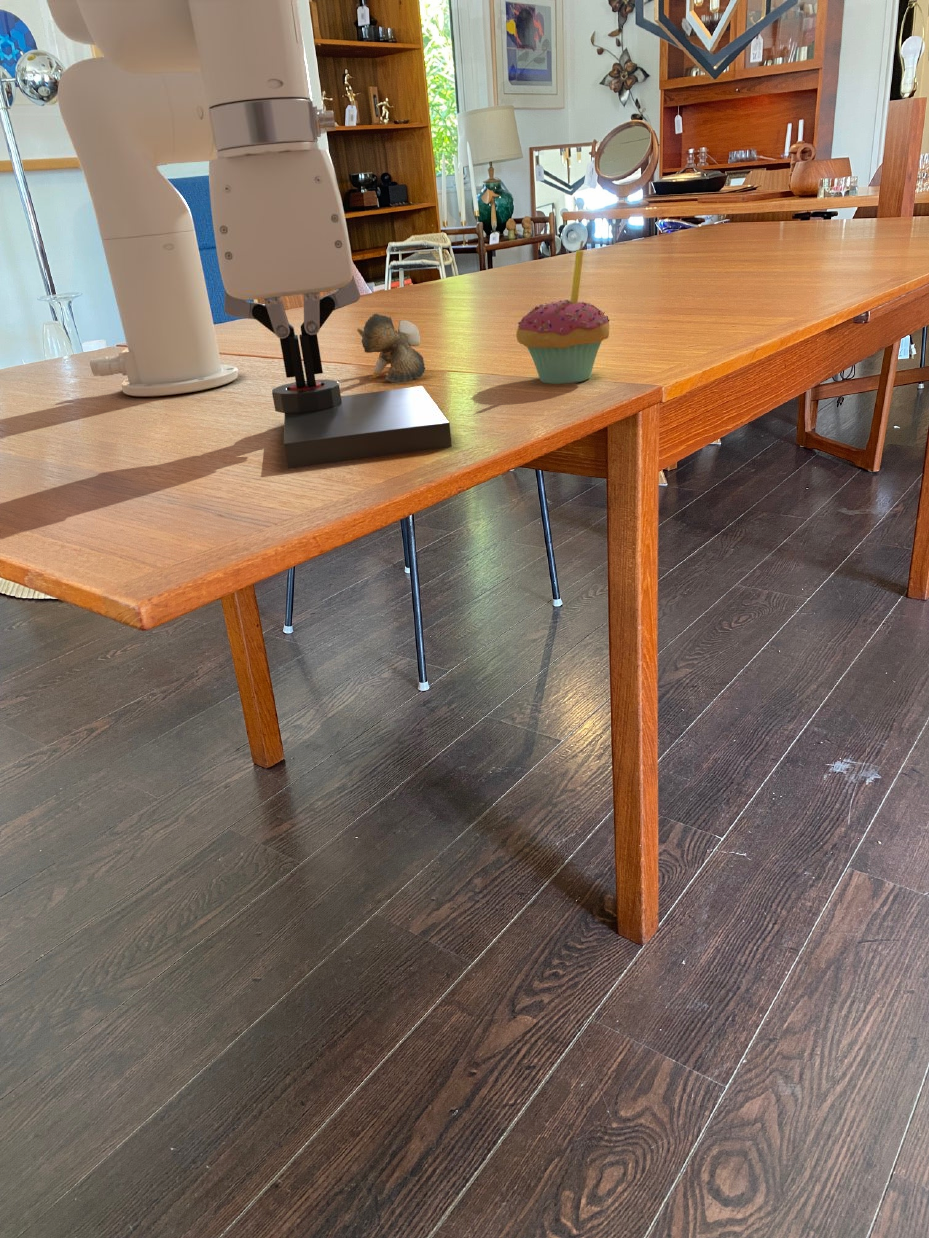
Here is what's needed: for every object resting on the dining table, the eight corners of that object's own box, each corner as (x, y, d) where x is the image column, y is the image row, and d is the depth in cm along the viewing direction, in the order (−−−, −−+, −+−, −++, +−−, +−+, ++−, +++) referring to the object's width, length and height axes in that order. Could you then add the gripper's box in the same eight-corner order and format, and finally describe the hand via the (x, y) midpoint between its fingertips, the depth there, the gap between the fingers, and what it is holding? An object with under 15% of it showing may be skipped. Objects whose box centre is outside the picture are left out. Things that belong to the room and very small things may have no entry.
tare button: (292, 408, 74) (289, 389, 74) (292, 402, 77) (289, 383, 76) (324, 404, 75) (321, 385, 74) (323, 398, 77) (320, 379, 76)
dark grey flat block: (277, 471, 65) (268, 422, 63) (279, 425, 79) (272, 384, 77) (452, 448, 66) (447, 400, 65) (424, 407, 80) (420, 366, 79)
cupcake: (608, 367, 89) (605, 235, 84) (612, 385, 81) (610, 241, 76) (521, 374, 90) (513, 244, 85) (517, 392, 82) (508, 250, 77)
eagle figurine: (342, 364, 98) (346, 360, 89) (369, 302, 97) (376, 292, 88) (405, 396, 100) (416, 395, 91) (432, 335, 99) (446, 329, 90)
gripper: (362, 129, 71) (391, 367, 79) (168, 147, 69) (218, 388, 77) (369, 120, 64) (400, 381, 72) (155, 140, 63) (211, 405, 70)
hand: (306, 384), depth 75 cm, fingers closed
